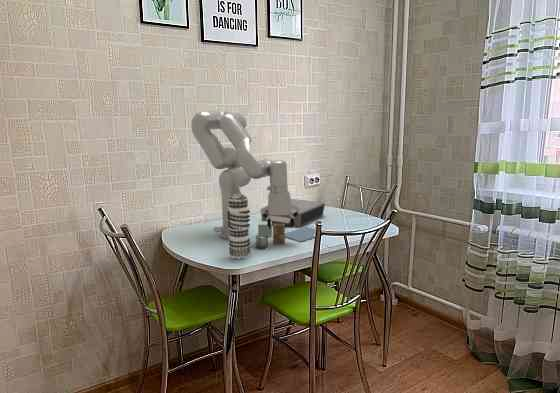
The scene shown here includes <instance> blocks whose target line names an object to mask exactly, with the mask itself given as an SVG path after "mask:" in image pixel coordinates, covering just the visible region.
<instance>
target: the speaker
mask: <svg viewBox="0 0 560 393" xmlns="http://www.w3.org/2000/svg"><path fill="white" fill-rule="evenodd" d="M291 204H292V205H295V206H297V207H299V208H300V210H299V212H298V215H297V216H296V217H295V218H294V225H293V227H294V228H298V229H301V228H304V227H305V226H307V225H309V224H312V223H313V222H316V221H317V220H320V219H321V218H323V216H324V212H325V204H326V202H322V201H312V200H306V199H305V200H304V199H299V198H291ZM264 207H265V206H263V207H261V208H260V210H261V209H262V208H264ZM264 212H265V213H266V214H267V215H268V214H269V213H268V209H267V210H265V211H264ZM295 212H296V209H293V208H292V213H293V214H294V213H295ZM260 216H261V221H267V219H266V218H265V217H264V216H263V215H262V213H261V212H260ZM270 219H271V221H272V225H273V224H285V227H287V226H288V227H291V217H290V216H289V215H284V216H271V217H270ZM300 227H301V228H300Z"/></svg>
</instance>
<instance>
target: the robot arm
mask: <svg viewBox="0 0 560 393" xmlns="http://www.w3.org/2000/svg"><path fill="white" fill-rule="evenodd" d="M246 127H247V119H246V118H245V116H244V115H243V114H241V113H238V112H230V111H223V110H202V111H198V112H197V113H195V114H194V115H193V117H192V120H191V132H192V135H193V136H194V139H196V141H197V142H198V144H199V146H200V147H201V149H202V150H203V152H204V154H205V156H206V157H207V159H208V161H209V163H210V164H211V166H212V167H213V168H215V169H216V170H223V171H222V172H220V174H219V177H218V183H219V184H218V185H219V190H220V195H221V196H220V197H221V210H222V211H221V212H222V214H221V215H222V225H221V226H213V231H214V232H215V233H219V237H220V238H222V239H225V240H226V239H227V240H229V239H230V229H229V227H228V224H229V223H228V220H229V219H228V217H227V216H228V214H227V211H229V209H228V207H229V200H228V199H229V198H230V196H231V195H234V194H242V192H241V189H240V188H243V187H245V186H247V185H249V183H250V182H251V180H252V179H253V180H258V179H262V178H267V177H269V185H268V186H267V187H266V190H267V191H269V192H268V198H267V205H265V206H263V207H264V208H263V207H261V208H262V209H261V208H260V209H259V211H260V214H261V213H262V215H263V216H264V217H265V218H266V219H267V226H269V229H270V228H271V219H270V217H271V216H284V215H289V216H290V217H291V226H290V228H291V229H292V228H293V225H294V218H295V217H296V216H297V215H298V212H299V210H300V208H299V207H297V206H295V205H292V204H291V199H292V197H291V193H290V191H289V189H288V188H289V187H288V168H287V167H288V166H287V161H286V160H284V159H283V160H282V159H277V160H272V159H266V158H265V159H259V160H257V159H256V158H255V157H254V156H253V154H252V153H251V151H250V145H251V142H252V136H251V134H249V133H248V131H247V130H246ZM211 130H221V131H222V132H223V134H224V135H225V136H226V138H227V139H228V141H229V142H230V143H231V144H232V146H233V147H230V146H228V147H227V146H226V147H224V146H223V145H222V143H221V142H220V140H219V138H218V137H217V136H216V134H214V133H213V132H212V131H211ZM292 208H293V209H296V212H295V213H294V214H293V213H292ZM267 209H268V213H269V214H268V215H267V214H266V213H265V212H264V211H265V210H267Z"/></svg>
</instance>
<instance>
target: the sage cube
mask: <svg viewBox="0 0 560 393" xmlns="http://www.w3.org/2000/svg"><path fill="white" fill-rule="evenodd" d="M257 226H258V228H257V229H258V234H257V235H267V236H268V238H273V223H272V221H271V228H270V229H269V226H267V221H262V220H260V221H259V222H258V224H257Z"/></svg>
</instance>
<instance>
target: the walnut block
mask: <svg viewBox="0 0 560 393" xmlns="http://www.w3.org/2000/svg"><path fill="white" fill-rule="evenodd" d="M285 233H286V225H285V224H273V223H272V243H273V245H285V242H286V238H285Z"/></svg>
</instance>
